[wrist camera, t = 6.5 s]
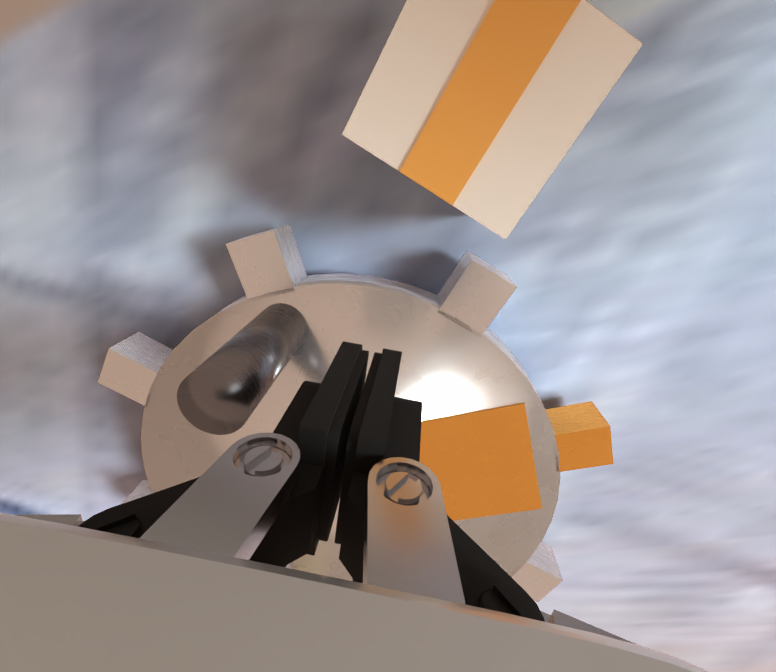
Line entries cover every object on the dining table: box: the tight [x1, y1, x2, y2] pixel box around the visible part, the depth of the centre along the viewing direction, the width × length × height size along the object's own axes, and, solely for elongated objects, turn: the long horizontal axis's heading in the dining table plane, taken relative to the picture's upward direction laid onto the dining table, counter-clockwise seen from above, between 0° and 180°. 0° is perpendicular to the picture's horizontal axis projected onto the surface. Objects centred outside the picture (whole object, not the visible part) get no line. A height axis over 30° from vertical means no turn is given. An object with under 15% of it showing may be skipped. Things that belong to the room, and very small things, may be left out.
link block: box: [342, 0, 643, 240], centre depth 13 cm, size 5×5×7 cm
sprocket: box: [98, 224, 613, 602], centre depth 18 cm, size 24×24×8 cm
